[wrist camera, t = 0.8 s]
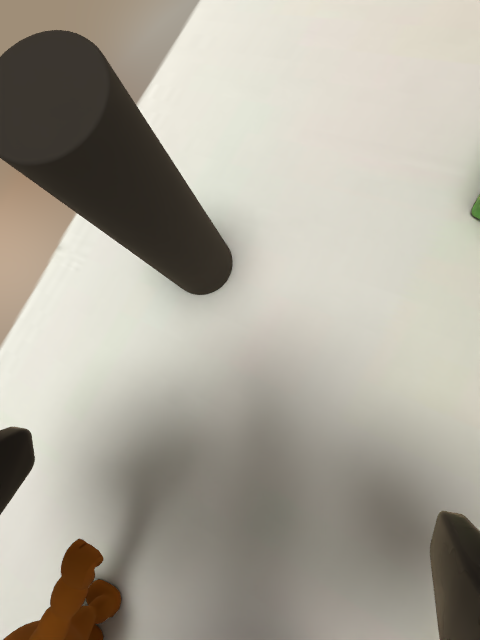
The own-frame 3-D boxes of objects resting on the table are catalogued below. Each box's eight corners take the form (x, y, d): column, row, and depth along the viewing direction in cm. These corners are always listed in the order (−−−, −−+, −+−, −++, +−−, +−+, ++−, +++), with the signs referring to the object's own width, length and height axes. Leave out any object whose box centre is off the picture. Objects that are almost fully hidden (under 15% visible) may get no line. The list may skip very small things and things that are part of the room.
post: (219, 303, 23) (73, 180, 9) (163, 284, 24) (-47, 145, 10) (241, 244, 23) (131, 41, 9) (185, 227, 24) (9, 17, 10)
